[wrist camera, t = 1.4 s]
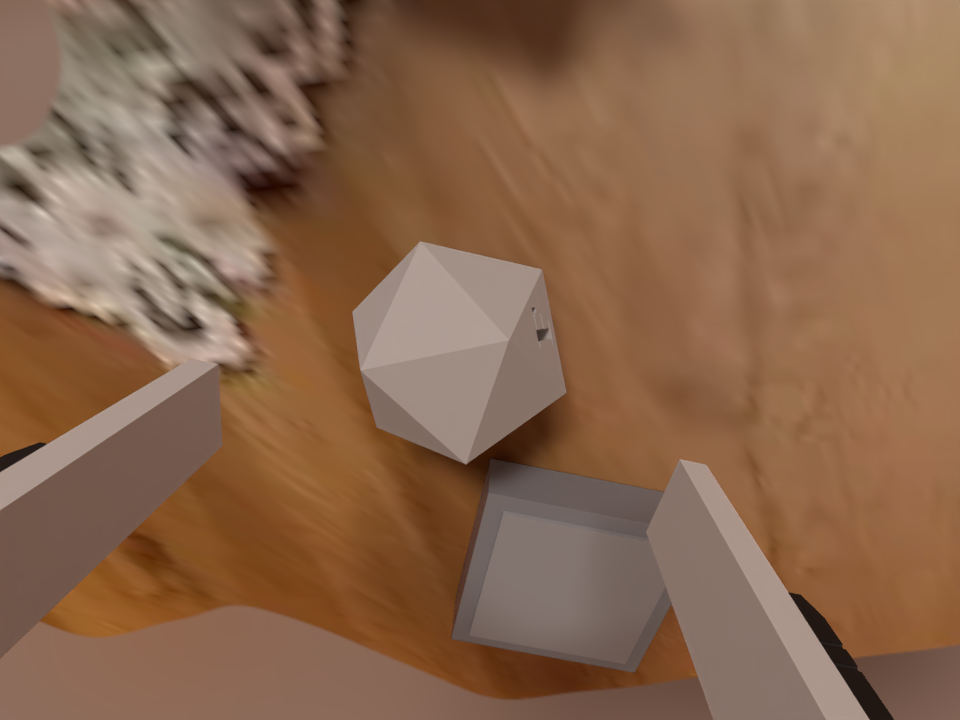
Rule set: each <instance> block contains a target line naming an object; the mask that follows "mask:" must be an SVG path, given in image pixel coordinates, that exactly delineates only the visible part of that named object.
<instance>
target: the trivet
mask: <svg viewBox="0 0 960 720" xmlns="http://www.w3.org/2000/svg"><path fill="white" fill-rule="evenodd" d="M663 494H664V492H661V491H655V490H650V489H645V488H640V487H635V486H630V485H625V484H619V483H614V482H609V481H604V480H599V479H594V478H589V477H583V476H578V475H573V474H568V473H563V472H558V471H553V470H547V469H542V468H537V467H532V466H527V465H522V464H517V463H511V462H506V461H501V460H496V459H491V458H490V462H489V466H488V470H487V474H486V478H485V482H484V486H483V490H482V494H481V498H480V502H479V506H478V511H477V515H476V519H475V523H474V527H473V531H472V535H471V539H470V543H469V547H468V551H467V555H466V559H465V563H464V567H463V571H462V575H461V579H460V583H459V587H458V591H457V595H456V601H455V610H454V618H453V627H452V635H451V639H453V640H459V641H464V642H470V643H475V644H481V645H486V646H492V647H497V648H502V649H508V650H513V651H519V652H524V653H530V654H535V655H541V656H546V657H552V658H557V659H563V660H568V661H574V662H579V663H585V664H590V665H595V666H601V667H606V668H612V669H617V670H623V671H628V672H634V673H635V671H636V669H637V667H638V665H639V663H640V661H641V660H642V658H643V656H644V654H645V652H646V650H647V648H648V647H649V645H650V643H651V641H652V639H653V637H654V636H655V634H656V632H657V630H658V628H659V626H660V624H661V623H662V621H663V619H664V617H665V615H666V613H667V611H668V610H669V608H670V606H671V604H672V603H671V600H670V597H669V594H668V592H667V589H666V586H665V583H664V580H663V578H662V575H661V572H660V569H659V566H658V564H657V561H656V558H655V555H654V553H653V550H652V547H651V544H650V541H649V539H648V536H647V533H646V531H647V529H648V527H649V525H650V522H651V520H652V518H653V516H654V514H655V511H656V509H657V507H658V505H659V503H660V501H661V498H662V496H663Z"/></svg>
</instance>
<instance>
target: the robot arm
mask: <svg viewBox="0 0 960 720" xmlns="http://www.w3.org/2000/svg"><path fill="white" fill-rule="evenodd" d="M220 447H222V431H221V411H220V391H219V372H218V364H214V363H209V362H204V361H199V360H195V359H190V360H188V361H186V362H185V363H183V364H181V365H179V366H178V367H176V368H174V369H173V370H171V371H169V372H168V373H166V374H164V375H163V376H161V377H159V378H158V379H156V380H154V381H153V382H151V383H149V384H148V385H146V386H144V387H143V388H141V389H139V390H138V391H136V392H134V393H132V394H131V395H129V396H127V397H126V398H124V399H122V400H121V401H119V402H117V403H116V404H114V405H112V406H111V407H109V408H107V409H106V410H104V411H102V412H101V413H99V414H97V415H96V416H94V417H92V418H91V419H89V420H87V421H85V422H84V423H82V424H80V425H79V426H77V427H75V428H74V429H72V430H70V431H69V432H67V433H65V434H64V435H62V436H60V437H59V438H57V439H55V440H54V441H52V442H50V443H49V444H45V443H37V444H34V445H31V446H28V447H26V448H23V449H20V450H17V451H14V452H12V453H9V454H6V455H4V456H2V457H0V658H1V657H2V656H3V655H4V654H5V653H6V652H7V651H9V650H10V649H11V648H12V647H13V646H14V645H15V644H16V643H17V642H18V641H19V640H20V639H21V638H22V637H23V636H24V635H25V634H26V633H27V632H28V631H29V630H30V629H31V628H33V626H35V624H37V623H38V622H39V621H40V620H41V619H42V618H43V617H44V616H45V615H46V614H47V613H48V612H49V611H50V610H51V609H52V608H53V607H54V606H55V605H57V604H58V603H59V602H60V601H61V600H62V599H63V598H64V597H65V596H66V595H67V594H68V593H69V592H70V591H71V590H72V589H73V588H74V587H75V586H76V585H77V584H78V583H80V582H81V581H82V580H83V579H84V578H85V577H86V576H87V575H88V574H89V573H90V572H91V571H92V570H93V569H94V568H95V567H96V566H97V565H98V564H99V563H100V562H101V561H102V560H104V559H105V558H106V557H107V556H108V555H109V554H110V553H111V552H112V551H113V550H114V549H115V548H116V547H117V546H118V545H119V544H120V543H121V542H122V541H123V540H124V539H125V538H126V537H128V536H129V535H130V534H131V533H132V532H133V531H134V530H135V529H136V528H137V527H138V526H139V525H140V524H141V523H142V522H143V521H144V520H145V519H146V518H147V517H148V516H149V515H151V514H152V513H153V512H154V511H155V510H156V509H157V508H158V507H159V506H160V505H161V504H162V503H163V502H164V501H165V500H166V499H167V498H168V497H169V496H170V495H171V494H172V493H173V492H175V491H176V490H177V489H178V488H179V487H180V486H181V485H182V484H183V483H184V482H185V481H186V480H187V479H188V478H189V477H190V476H191V475H192V474H193V473H194V472H195V471H196V470H197V469H199V468H200V467H201V466H202V465H203V464H204V463H205V462H206V461H207V460H208V459H209V458H210V457H211V456H212V455H213V454H214V453H215V452H216V451H217V450H218V449H219V448H220ZM646 533H647V536H648V539H649V541H650V544H651V547H652V550H653V553H654V555H655V558H656V561H657V564H658V566H659V569H660V572H661V575H662V578H663V580H664V583H665V586H666V589H667V592H668V594H669V597H670V600H671V603H672V605H673V608H674V611H675V614H676V617H677V619H678V622H679V625H680V628H681V630H682V633H683V636H684V639H685V642H686V644H687V647H688V650H689V653H690V656H691V658H692V661H693V664H694V667H695V669H696V672H697V675H698V678H699V681H700V683H701V686H702V689H703V692H704V694H705V697H706V700H707V703H708V705H709V708H710V711H711V714H712V717H713V719H714V720H894V719H893V717H892V716H891V714H890V713H889V712H888V710H887V709H886V707H885V706H884V704H883V703H882V701H881V700H880V698H879V697H878V696H877V694H876V693H875V691H874V690H873V688H872V687H871V685H870V684H869V682H868V681H867V679H866V678H865V676H864V675H863V674H862V672H859V671H858V670H857V665H856V663H855V662H854V660H853V659H852V657H851V656H850V655H849V653H848V652H847V650H845V649H843V648H842V645H843V644H842V643H841V641H840V640H839V639H838V637H837V636H836V634H835V633H834V631H833V630H832V628H831V627H830V625H829V624H828V622H827V621H826V620H825V618H824V617H823V616H822V615H821V614H820V613H819V612H818V611H817V610H816V609H815V608H814V607H813V606H812V605H810V604H809V603H808V602H807V601H806V600H805V599H804V598H803V597H802V596H801V595H799V594H794V593H789V592H787V590H786V589H785V587H784V585H783V584H782V582H781V581H780V579H779V578H778V576H777V575H776V573H775V571H774V570H773V568H772V567H771V565H770V564H769V562H768V560H767V559H766V557H765V556H764V554H763V553H762V551H761V550H760V548H759V546H758V545H757V543H756V542H755V540H754V539H753V537H752V536H751V534H750V532H749V531H748V529H747V528H746V526H745V525H744V523H743V521H742V520H741V518H740V517H739V515H738V514H737V512H736V511H735V509H734V507H733V506H732V504H731V503H730V501H729V500H728V498H727V497H726V495H725V493H724V492H723V490H722V489H721V487H720V486H719V484H718V482H717V481H716V479H715V478H714V476H713V475H712V473H711V472H710V470H709V468H708V467H707V465H705V464H700V463H695V462H691V461H686V460H681V459H679V462H678V464H677V466H676V468H675V470H674V472H673V475H672V477H671V479H670V481H669V483H668V485H667V488H666V490H665V492H664V494H663V496H662V498H661V501H660V503H659V505H658V507H657V509H656V511H655V514H654V516H653V518H652V520H651V522H650V525H649V527H648V529H647V531H646Z"/></svg>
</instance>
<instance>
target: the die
mask: <svg viewBox="0 0 960 720" xmlns="http://www.w3.org/2000/svg"><path fill="white" fill-rule="evenodd" d="M353 319H354V327H355V334H356V341H357V349H358V356H359V364H360V371H361V374H362V378H363V381H364V385H365V388H366V392H367V395H368V399H369V402H370V406H371V409H372V413H373V416H374V420H375V423H376V427H377V428H379V429H382V430H384V431H387V432H389V433H392V434H394V435H396V436H399V437H401V438H404V439H406V440H408V441H411V442H413V443H416V444H418V445H420V446H423V447H425V448H428V449H430V450H432V451H435V452H437V453H440V454H442V455H444V456H447V457H449V458H452V459H454V460H457V461H459V462H461V463H464V464H467V463H469V462H470V461H471V460H473V459H474V458H476V457H477V456H478V455H480V454H481V453H483V452H484V451H486V450H487V449H488V448H490V447H491V446H493V445H494V444H495V443H497V442H498V441H500V440H501V439H502V438H504V437H505V436H507V435H508V434H509V433H511V432H512V431H514V430H515V429H516V428H518V427H519V426H521V425H522V424H523V423H525V422H526V421H528V420H529V419H530V418H532V417H533V416H535V415H536V414H537V413H539V412H540V411H542V410H543V409H544V408H546V407H547V406H549V405H550V404H552V403H553V402H554V401H556V400H557V399H559V398H560V397H561V396H563V395H564V394H566V388H565V383H564V378H563V372H562V367H561V362H560V357H559V352H558V347H557V342H556V337H555V332H554V327H553V322H552V317H551V312H550V306H549V301H548V296H547V291H546V286H545V281H544V276H543V271H542V269H538V268H533V267H529V266H525V265H520V264H516V263H512V262H507V261H503V260H499V259H494V258H490V257H486V256H481V255H477V254H473V253H468V252H464V251H460V250H455V249H451V248H446V247H442V246H438V245H433V244H429V243H425V242H419V243H418V245H417V246H416V247H415V248H414V249H413V250H412V251H411V252H410V253H409V254H408V255H407V256H406V257H405V258H404V259H403V260H402V261H401V262H400V263H399V264H398V265H397V266H396V267H395V268H394V269H393V270H392V271H391V272H390V274H389V275H388V276H387V277H386V278H385V279H384V280H383V281H382V282H381V283H380V284H379V285H378V286H377V287H376V288H375V289H374V290H373V291H372V292H371V293H370V294H369V295H368V296H367V297H366V298H365V299H364V300H363V302H362V303H361V304H360V305H359V306H358V307H357V308H356V309H355V310H354V311H353Z"/></svg>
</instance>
